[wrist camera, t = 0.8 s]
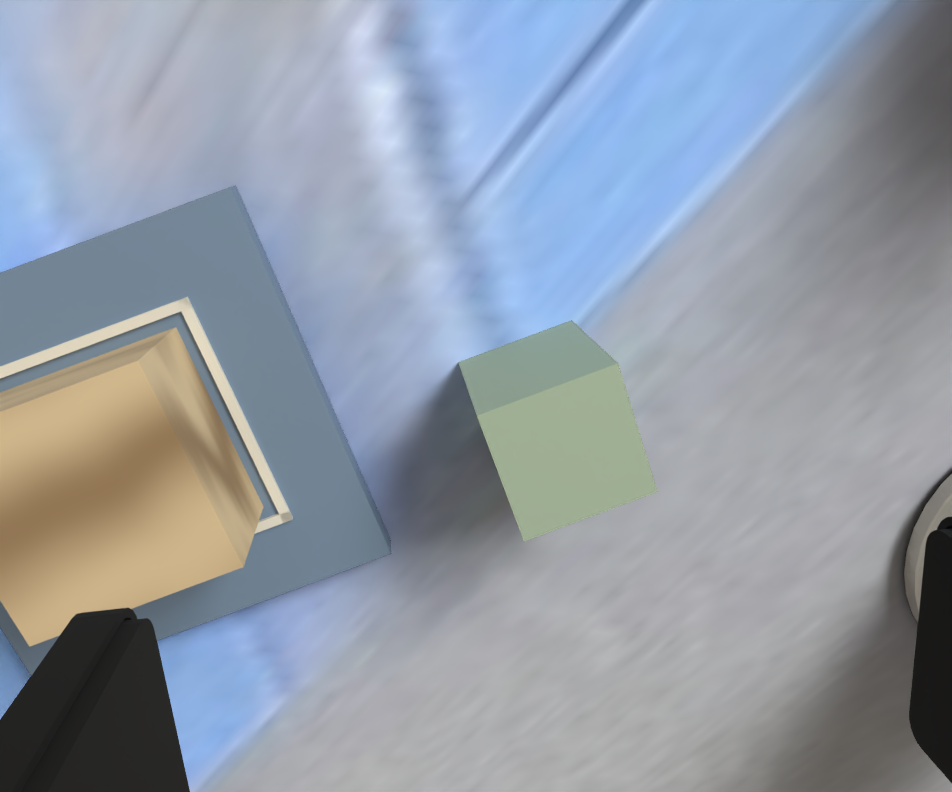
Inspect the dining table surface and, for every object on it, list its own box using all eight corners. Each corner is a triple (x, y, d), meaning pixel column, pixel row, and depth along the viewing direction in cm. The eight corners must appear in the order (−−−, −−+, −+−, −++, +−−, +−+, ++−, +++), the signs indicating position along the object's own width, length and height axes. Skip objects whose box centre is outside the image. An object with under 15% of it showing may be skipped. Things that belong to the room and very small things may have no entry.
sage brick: (605, 426, 35) (657, 492, 29) (497, 466, 35) (523, 541, 29) (571, 320, 34) (618, 363, 27) (458, 362, 34) (476, 415, 27)
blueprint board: (390, 540, 36) (391, 556, 34) (48, 668, 36) (35, 688, 34) (235, 185, 31) (229, 187, 29) (-163, 334, 31) (-188, 342, 29)
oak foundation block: (263, 506, 33) (243, 567, 29) (79, 575, 33) (29, 646, 29) (175, 327, 31) (138, 360, 26) (-23, 400, 31) (-97, 447, 26)
